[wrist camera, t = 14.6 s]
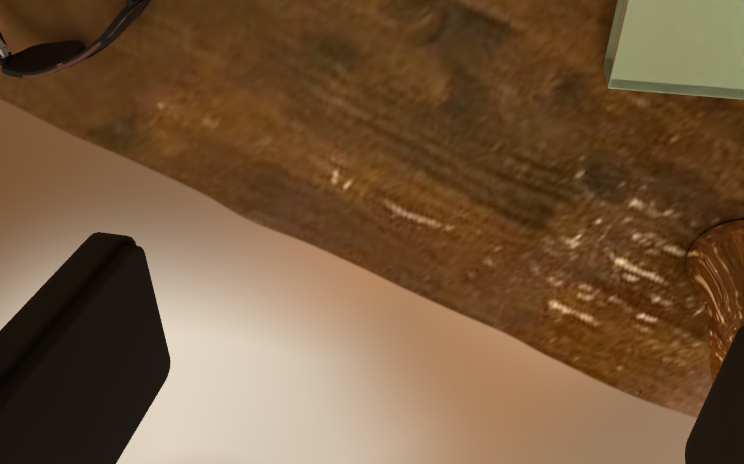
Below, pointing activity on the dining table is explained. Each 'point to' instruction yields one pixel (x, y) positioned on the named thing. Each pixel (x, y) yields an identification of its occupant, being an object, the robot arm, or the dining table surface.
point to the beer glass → (719, 285)
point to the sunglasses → (65, 48)
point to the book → (677, 47)
